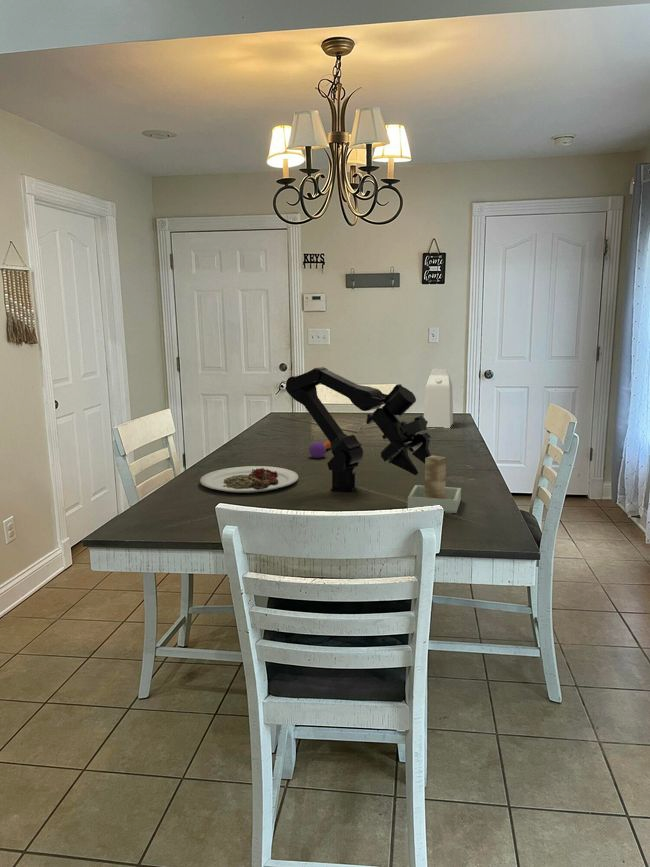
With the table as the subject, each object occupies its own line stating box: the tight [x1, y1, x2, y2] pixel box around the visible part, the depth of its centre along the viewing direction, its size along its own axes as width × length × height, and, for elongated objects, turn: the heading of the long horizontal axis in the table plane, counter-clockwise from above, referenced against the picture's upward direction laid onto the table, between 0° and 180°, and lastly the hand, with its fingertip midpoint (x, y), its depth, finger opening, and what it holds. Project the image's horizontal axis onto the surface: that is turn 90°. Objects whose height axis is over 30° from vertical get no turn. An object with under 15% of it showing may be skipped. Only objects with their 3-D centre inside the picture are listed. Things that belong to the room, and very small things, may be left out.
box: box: [407, 484, 462, 514], centre depth 175 cm, size 13×13×4 cm
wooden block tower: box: [423, 455, 453, 500], centre depth 174 cm, size 7×7×12 cm
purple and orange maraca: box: [308, 439, 331, 459], centre depth 241 cm, size 6×6×20 cm
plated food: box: [199, 465, 299, 494], centre depth 201 cm, size 30×30×3 cm
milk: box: [423, 368, 454, 429], centre depth 294 cm, size 12×12×26 cm
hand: (425, 470), depth 176 cm, fingers open, 9 cm apart
